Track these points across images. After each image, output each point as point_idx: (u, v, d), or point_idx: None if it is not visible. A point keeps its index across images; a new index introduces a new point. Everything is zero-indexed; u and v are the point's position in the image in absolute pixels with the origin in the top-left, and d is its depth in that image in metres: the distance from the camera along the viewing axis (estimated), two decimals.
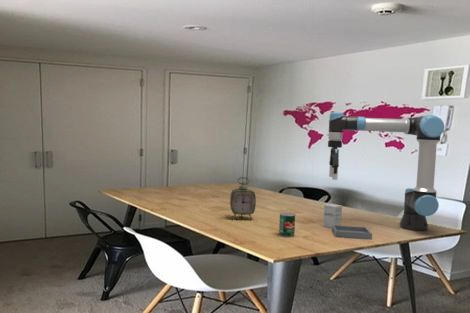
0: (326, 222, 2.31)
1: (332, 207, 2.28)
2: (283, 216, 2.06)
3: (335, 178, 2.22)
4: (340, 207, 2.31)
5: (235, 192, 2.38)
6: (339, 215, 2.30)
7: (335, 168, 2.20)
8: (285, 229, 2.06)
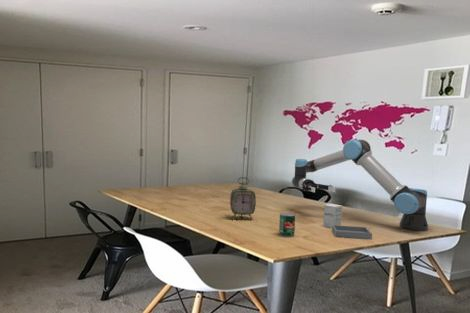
0: (326, 222, 2.31)
1: (332, 207, 2.28)
2: (283, 216, 2.06)
3: (313, 189, 2.39)
4: (340, 207, 2.31)
5: (235, 192, 2.38)
6: (339, 215, 2.30)
7: (306, 188, 2.44)
8: (285, 229, 2.06)
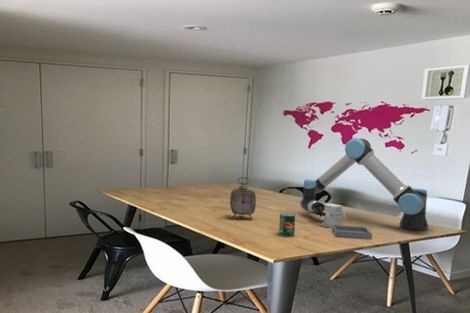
0: (326, 222, 2.31)
1: (332, 207, 2.28)
2: (283, 216, 2.06)
3: (327, 214, 2.27)
4: (340, 207, 2.31)
5: (235, 192, 2.38)
6: (339, 214, 2.30)
7: (320, 213, 2.32)
8: (285, 229, 2.06)
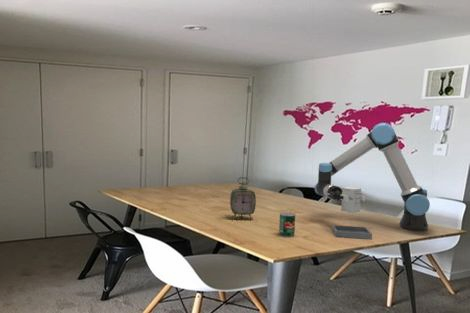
0: (344, 206, 2.15)
1: (351, 190, 2.12)
2: (283, 216, 2.06)
3: (346, 198, 2.11)
4: (359, 190, 2.14)
5: (235, 192, 2.38)
6: (358, 198, 2.14)
7: (338, 197, 2.16)
8: (285, 229, 2.06)
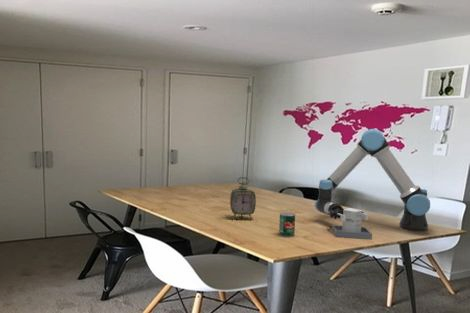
0: (346, 228, 2.14)
1: (352, 212, 2.12)
2: (283, 216, 2.06)
3: (343, 217, 2.11)
4: (360, 212, 2.14)
5: (235, 192, 2.38)
6: (359, 220, 2.14)
7: (335, 216, 2.16)
8: (285, 229, 2.06)
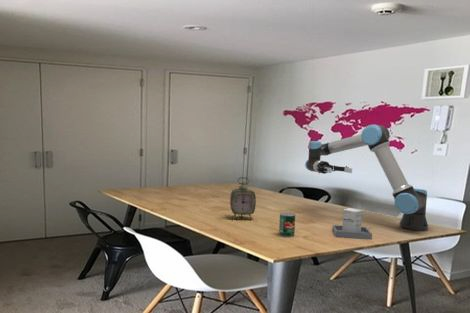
0: (346, 228, 2.14)
1: (352, 212, 2.12)
2: (283, 216, 2.06)
3: (329, 169, 2.32)
4: (360, 212, 2.14)
5: (235, 192, 2.38)
6: (359, 220, 2.14)
7: (322, 169, 2.37)
8: (285, 229, 2.06)
